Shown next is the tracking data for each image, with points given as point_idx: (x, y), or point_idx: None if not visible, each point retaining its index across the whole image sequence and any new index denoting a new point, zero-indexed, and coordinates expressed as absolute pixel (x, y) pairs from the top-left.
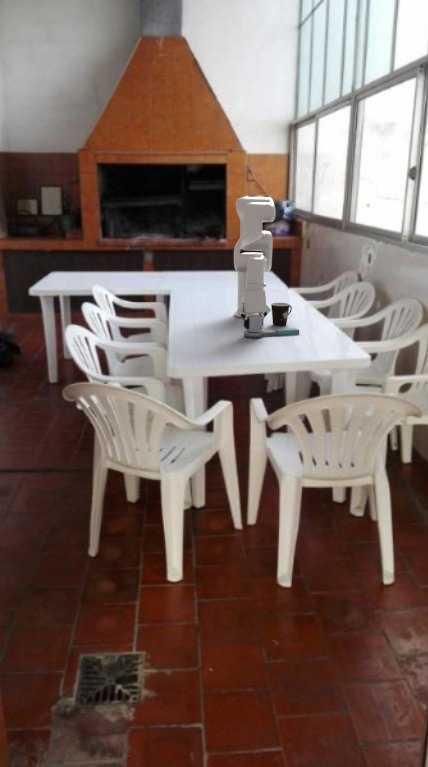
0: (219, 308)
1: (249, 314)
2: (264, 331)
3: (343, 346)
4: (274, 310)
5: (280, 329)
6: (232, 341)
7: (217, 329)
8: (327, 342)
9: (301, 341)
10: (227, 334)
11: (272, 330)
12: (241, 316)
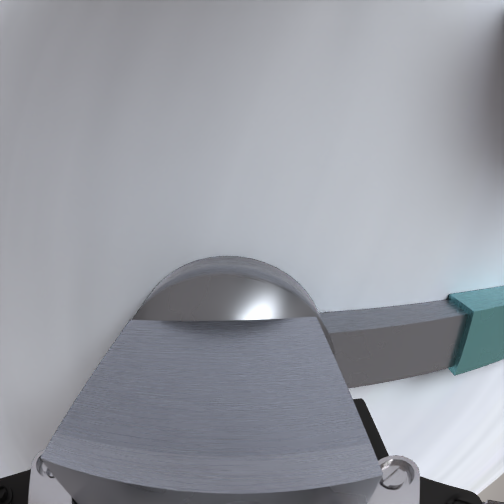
0: None
1: (140, 487)
2: (361, 352)
3: (485, 478)
4: None
5: (495, 328)
6: (58, 407)
7: (22, 23)
8: (496, 450)
9: (444, 455)
10: (26, 206)
11: (446, 321)
12: (16, 481)
